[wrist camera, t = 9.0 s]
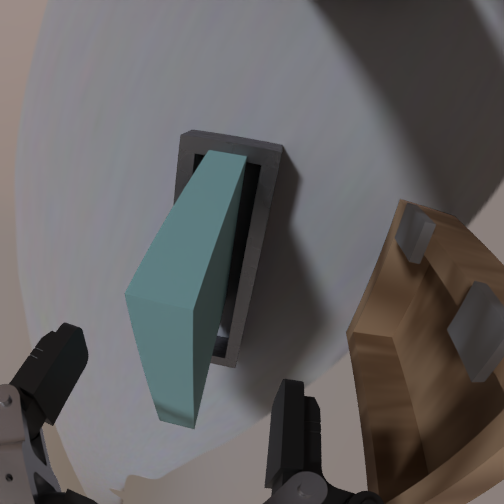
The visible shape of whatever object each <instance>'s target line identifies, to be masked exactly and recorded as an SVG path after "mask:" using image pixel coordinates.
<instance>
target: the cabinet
mask: <svg viewBox="0 0 504 504" xmlns="http://www.w3.org/2000/svg"><path fill="white" fill-rule="evenodd" d="M346 334H347V340H348V345H349V351H350V356H351V362H352V368H353V374H354V381H355V387H356V393H357V400H358V407H359V414H360V422H361V429H362V437H363V446H364V455H365V464H366V475H367V486H368V491H371V492H374V493H376V494H378V495H379V496H380V497H381V498H382V500H383V502H384V504H466V503H468V502H470V501H471V500H473V499H475V498H476V497H478V496H480V495H481V494H482V493H484V492H486V491H487V490H489V489H490V488H492V487H493V486H495V485H496V484H498V483H499V482H501V481H502V480H503V479H504V265H503V264H502V263H501V262H500V261H499V260H498V259H497V258H496V257H495V255H494V254H493V253H492V252H491V251H490V250H489V249H488V248H487V247H486V246H485V245H484V244H483V243H482V242H481V241H480V240H479V239H478V238H477V237H476V236H474V234H473V233H472V232H471V231H470V230H469V229H467V228H466V227H465V226H464V225H463V224H462V223H461V222H460V221H459V220H458V219H457V218H456V217H455V216H452V215H449V214H446V213H443V212H440V211H437V210H434V209H431V208H428V207H425V206H421V205H418V204H415V203H412V202H408V201H405V200H401V199H400V201H399V204H398V207H397V210H396V212H395V215H394V218H393V221H392V224H391V227H390V229H389V232H388V235H387V237H386V240H385V243H384V245H383V248H382V251H381V253H380V256H379V258H378V261H377V263H376V266H375V268H374V271H373V273H372V276H371V278H370V280H369V283H368V285H367V287H366V290H365V292H364V294H363V297H362V299H361V301H360V304H359V306H358V308H357V310H356V312H355V315H354V317H353V319H352V321H351V323H350V326H349V328H348V330H347V332H346Z"/></svg>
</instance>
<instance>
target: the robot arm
mask: <svg viewBox="0 0 504 504" xmlns="http://www.w3.org/2000/svg"><path fill="white" fill-rule="evenodd" d="M87 361H88V350H87V346H86V342H85V338H84V334H83V330H82V329H81V328H80V327H77V326H74V325H71V324H68V323H63V324H62V325H61V326H60V327H59V329H58V330H57V331H56V332H53V331H51V332H50V333H48V334H47V335H45V336H44V337H42V338H41V340H40V341H39V342H38V344H37V345H36V346H35V349H33V351H32V352H31V353H30V356H28V358H27V359H26V361H25V362H24V363H23V365H22V366H21V368H20V369H19V371H18V372H17V373H16V375H15V377H14V378H13V379H12V381H11V382H10V383H9V384H2V385H0V504H98V503H96V502H95V501H94V500H92V499H89V498H87V497H85V496H82V495H80V494H78V493H75V492H74V491H71V490H69V489H67V491H66V493H65V492H61V488H60V485H59V483H58V480H57V478H56V476H55V475H54V473H53V471H52V468H51V465H50V461H49V457H48V453H47V449H46V444H45V440H44V435H43V430H42V426H43V424H44V422H46V423H48V424H50V425H52V426H53V425H54V423H55V421H56V419H57V417H58V416H59V414H60V412H61V410H62V408H63V406H64V404H65V402H66V401H67V399H68V397H69V395H70V393H71V391H72V390H73V388H74V386H75V384H76V382H77V381H78V379H79V377H80V375H81V374H82V372H83V370H84V368H85V367H86V364H87ZM320 422H321V420H320V408H319V406H318V404H317V402H316V400H315V398H314V397H307V396H304V383H303V382H302V381H295V380H288V379H283V381H282V383H281V385H280V388H279V390H278V392H277V395H276V397H275V400H274V403H273V407H272V412H271V423H270V436H269V447H268V457H267V469H266V479H265V488H271V489H272V495H271V497H270V498H269V499H268V500H267V501H266V502H265V503H263V504H384V502H383V500H382V498H381V497H380V496H379V495H378V494H376V493H374V492H371V491H362V492H359V493H357V494H354V493H351V492H348V491H345V490H341V489H338V488H336V487H334V486H332V485H331V484H329V483H328V482H327V481H326V479H325V478H324V476H323V473H322V467H321V434H320V432H321V424H320Z"/></svg>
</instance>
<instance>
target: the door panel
mask: <svg viewBox="0 0 504 504" xmlns="http://www.w3.org/2000/svg"><path fill="white" fill-rule="evenodd" d="M246 159H247V156H242V155H236V154H230V153H225V152H219V151H212V150H209V151H208V152H207V154H206V155H205V157H204V158H203V160H202V161H201V163H200V164H199V166H198V167H197V169H196V171H195V172H194V174H193V175H192V177H191V178H190V180H189V182H188V183H187V185H186V186H185V188H184V190H183V191H182V193H181V195H180V196H179V198H178V199H177V201H176V203H175V204H174V206H173V208H172V209H171V211H170V213H169V214H168V216H167V218H166V220H165V221H164V223H163V225H162V226H161V228H160V230H159V232H158V233H157V235H156V237H155V239H154V240H153V242H152V244H151V246H150V247H149V249H148V251H147V253H146V255H145V256H144V258H143V260H142V262H141V264H140V266H139V267H138V269H137V271H136V273H135V275H134V277H133V279H132V281H131V282H130V284H129V286H128V288H127V290H126V292H125V298H126V302H127V307H128V311H129V315H130V320H131V324H132V328H133V332H134V336H135V340H136V344H137V347H138V351H139V355H140V358H141V362H142V366H143V369H144V372H145V376H146V379H147V382H148V386H149V389H150V392H151V395H152V398H153V402H154V405H155V408H156V411H157V414H158V416H159V419H160V420H161V421H164V422H168V423H172V424H176V425H180V426H184V427H188V428H192V429H194V428H195V424H196V420H197V416H198V411H199V407H200V403H201V399H202V395H203V390H204V386H205V382H206V378H207V374H208V370H209V365H210V361H211V357H212V353H213V349H214V345H215V341H216V337H217V333H218V329H219V325H220V321H221V317H222V313H223V308H224V304H225V300H226V295H227V287H228V280H229V273H230V266H231V259H232V252H233V245H234V238H235V231H236V225H237V218H238V211H239V205H240V198H241V191H242V185H243V178H244V172H245V166H246Z"/></svg>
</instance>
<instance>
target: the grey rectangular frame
mask: <svg viewBox="0 0 504 504" xmlns="http://www.w3.org/2000/svg"><path fill="white" fill-rule="evenodd" d="M209 150H212V151H219V152H225V153H230V154H236V155H242V156H247V159H246V162H249V163H254V164H259V165H262V166H261V171H260V176H259V181H258V186H257V191H256V197H255V202H254V207H253V212H252V218H251V223H250V228H249V233H248V239H247V244H246V249H245V255H244V260H243V265H242V270H241V276H240V281H239V286H238V292H237V297H236V303H235V308H234V313H233V319H232V324H231V330H230V335H229V338H225V337H220V336H217V337H216V341H215V345H214V349H213V353H212V357H211V361H210V363H213V364H218V365H222V366H227V367H232V368H235V367H236V362H237V358H238V353H239V349H240V344H241V340H242V335H243V331H244V326H245V322H246V317H247V313H248V308H249V304H250V299H251V295H252V290H253V285H254V281H255V276H256V272H257V267H258V262H259V258H260V253H261V249H262V244H263V239H264V235H265V230H266V225H267V221H268V216H269V211H270V207H271V202H272V197H273V193H274V188H275V183H276V178H277V174H278V169H279V164H280V159H281V155H282V145H279V144H274V143H269V142H264V141H259V140H254V139H248V138H243V137H237V136H231V135H225V134H219V133H212V132H205V131H198V130H190V131H188V132H186V133H184V134H182V135H181V137H180V145H179V154H178V163H177V173H176V183H175V195H174V204H175V203H176V201H177V199H178V198H179V196H180V195H181V193H182V191H183V190H184V188H185V186H186V185H187V183H188V182H189V180H190V178H191V177H192V175H193V174H194V172H195V171H196V169H197V167H198V166H199V164H200V163H201V161H202V160H203V155H206V154H207V152H208V151H209Z"/></svg>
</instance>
